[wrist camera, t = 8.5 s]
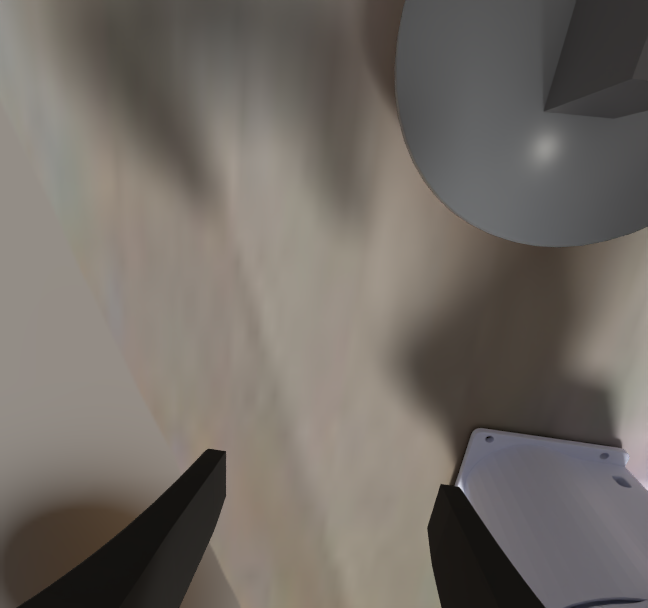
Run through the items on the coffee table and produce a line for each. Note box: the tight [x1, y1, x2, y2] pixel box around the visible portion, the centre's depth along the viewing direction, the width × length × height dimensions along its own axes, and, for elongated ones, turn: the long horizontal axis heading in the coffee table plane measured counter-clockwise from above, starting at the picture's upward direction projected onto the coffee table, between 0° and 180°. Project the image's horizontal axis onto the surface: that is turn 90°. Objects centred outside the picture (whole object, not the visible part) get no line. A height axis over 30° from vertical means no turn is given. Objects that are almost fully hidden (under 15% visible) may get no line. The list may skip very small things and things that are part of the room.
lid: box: [394, 0, 648, 247], centre depth 9 cm, size 13×13×5 cm
